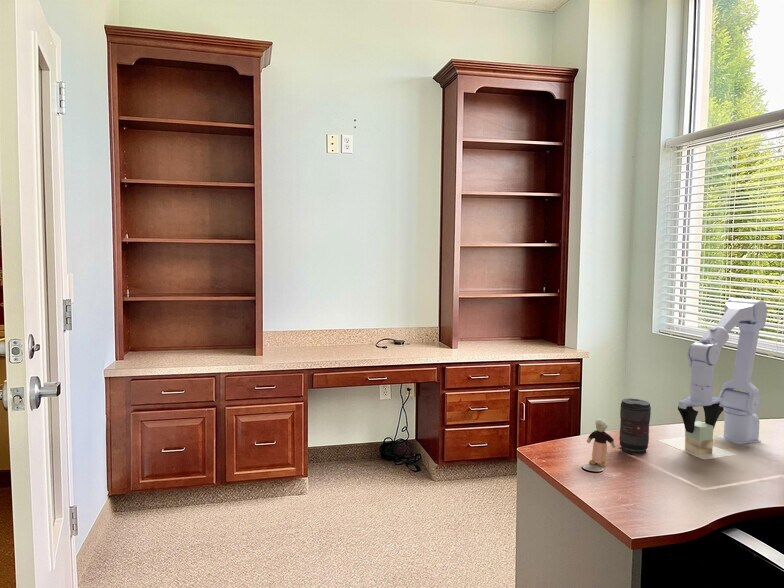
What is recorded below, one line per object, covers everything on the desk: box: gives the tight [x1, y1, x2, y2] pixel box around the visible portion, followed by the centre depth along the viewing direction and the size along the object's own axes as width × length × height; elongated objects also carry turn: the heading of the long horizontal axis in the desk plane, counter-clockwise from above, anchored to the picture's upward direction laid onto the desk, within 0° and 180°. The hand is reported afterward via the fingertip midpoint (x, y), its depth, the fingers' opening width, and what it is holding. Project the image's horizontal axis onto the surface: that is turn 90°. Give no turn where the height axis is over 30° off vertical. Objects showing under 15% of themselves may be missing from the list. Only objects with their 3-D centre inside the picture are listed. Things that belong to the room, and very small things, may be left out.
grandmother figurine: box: [586, 418, 617, 467], centre depth 157 cm, size 8×4×13 cm, turn 62°
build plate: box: [657, 436, 736, 461], centre depth 170 cm, size 12×17×1 cm
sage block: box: [684, 420, 714, 441], centre depth 166 cm, size 5×5×4 cm
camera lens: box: [619, 398, 652, 456], centre depth 167 cm, size 8×8×15 cm
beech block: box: [684, 435, 714, 455], centre depth 166 cm, size 5×5×4 cm
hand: (699, 430), depth 166 cm, fingers open, 7 cm apart
